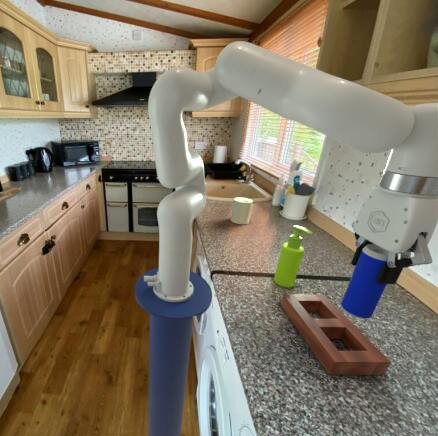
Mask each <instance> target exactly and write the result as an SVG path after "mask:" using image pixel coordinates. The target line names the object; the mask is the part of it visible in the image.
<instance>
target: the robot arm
mask: <svg viewBox="0 0 438 436" xmlns="http://www.w3.org/2000/svg"><path fill="white" fill-rule="evenodd" d="M240 97H241V98H242V99H245V100H247V101H249V102H251V103H253V104H255V105H257V106H259V107H261V108H263V109H265V110H267V111H269V112H272V113H273V114H275V115H277V116H279V117H281V118H283V119H286V120H289V121H292V122H296V123H299V124H301V125H303V126H305V127H308V128H309V129H312V130H313V131H316V132H318V133H320V134H322V135H324V136H326V137H329V138H331V139H332V140H334V141H337V142H339V143H340V144H343V145H345V146H347V147H349V148H351V149H352V150H355V151H357V152H360V153H364V154H381V153H384V152H387V151H390V150H391V151H390V154H389V156H388V158H387V159H388V160H387V161H386V165H385V167H384V170H382V171H381V172H380V173H379V177H380V180H379V183H378V184H375V185H374V186H373V187H372V188H371V190H370V191H369V193H368V194H367V195H366V198H365V199H364V201H363V202H362V205H361V206H360V209H359V211H358V213H357V216H356V218H355V220H354V221H353V222H352V223H351V228H352V230H353V232H354V238H355V243H354V246H355V247H356V249H355V251H354V254H353V257H352V259H351V261H350V264H351V265H352V266H354V267H356V264H357V262H358V259H359V257H360V254H361V252H362V249H363V248H364V247H365V246H366V245H368V244H375V245H377V246H379V247H381V248H383V249H384V250H386V251H388V262H387V264H383V265H382V267H381V270H380V272H379V274H378V276H377V279H376V282H377V283H378V284H387V285H395V284H396V283H397V281H398V280H399V278H400V276H401V273H402V271H403V270H404V268H405V269H407V268H410V267H414V266H420V265H421V266H422V265H431V264H432V263H433V258H432V255H431V252H430V249H429V246H428V245H429V243H430V241H431V239H432V237H433V234H434V233H435V230H436V227H437V224H438V102H428V103H427V102H426V103H419V104H416V105H407V104H405V103H404V102H403V101H400V100H398V99H396V98H394V97H391V96H389V95H386V94H384V93H381V92H379V91H377V90H374V89H371V88H369V87H367V86H364V85H361V84H358V83H357V82H353V81H350V80H348V79H345V78H342V77H339V76H336V75H333V74H330V73H327V72H325V71H323V70H321V69H318V68H315V67H311V66H308V65H306V64H303V63H301V62H298V61H296V60H293V59H290V58H289V57H286V56H284V55H281V54H279V53H277V52H274V51H271V50H269V49H266V48H264V47H261V46H259V45H257V44H254V43H253V42H248V41H243V40H239V41H238V40H237V41H233V42H231V43H229V44H228V45H226V46H225V47H224V48H223V49H222V50H221V51H220V53H218V56H217V58H216V60H215V64H214V67H212V68H209V69H207V70H205V71H202V72H199V71H197V70H195V69H193V68H190V67H186V66H175V67H172V68H169V69H167V70H166V71H164V72H163V73H162V74H161V75H160V76H158V78H157V80H155V82H154V83H153V86H152V88H151V90H150V92H149V97H148V102H147V111H148V121H149V125H150V128H151V129H150V130H151V135H152V144H153V146H152V147H153V154H154V161H155V168H156V176H157V180H158V181H159V183H160V184H161V186H163V187H164V188H166V189H175V190H174V191H173V192H171V193H169V194H168V195H166V196H165V197H163V198H162V199H161V201H160V202H159V203H158V206H157V210H156V218H157V223H158V231H159V232H158V236H159V241H158V243H159V244H158V246H159V248H158V268H159V272H157V275H154V276H144V282H148V286H153V290H154V293H155V294H156V295H157V296H158V297H159V298H161V299H162V300H165V301H168V302H182V301H185V300H187V299H189V298H190V297H191V296H192V294H193V285H192V283H191V282H190V281H189V276H190V271H191V265H192V264H191V263H192V255H193V254H192V253H193V230H192V224H193V221H194V220H195V219H196V218H197V217H198V216H199V215H200V214H202V212H203V211H204V209H205V207H206V204H207V191H206V190H207V189H206V178H205V176H206V175H205V166H204V162H203V159H202V157H201V155H200V153H199V152H198V151H197V150H195V149H193V148H190V147H189V146H188V136H187V135H188V134H187V129H186V125H185V122H184V118H183V113H184V112H201V111H204V110H208V109H211V108H213V107H216V106H218V105H221V104H223V103H226V102H229V101H232V100H234V99H236V98H240ZM412 253H413V256H412ZM399 255H400V257H399Z"/></svg>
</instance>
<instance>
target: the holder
mask: <svg viewBox="0 0 438 436" xmlns="http://www.w3.org/2000/svg"><path fill="white" fill-rule="evenodd" d="M280 307H281V308H282V310H283V311H284V313H285V314H286V315H287V317H288V318H289V320H290V321H291V322H292V324H293V326H294V327H295V328H296V330H297V332H298V333H299V334H300V336H301V337H302V338H303V340H304V341H305V342H306V344H307V345H308V347H309V348H310V350H311V352H313V354H314V355H315V357H316V358H317V359H318V361H319V362H320V364H321V365H322V366H323V368H324V370H325V371H326V372H327V374H328V375H329V376H384V375H385V374H386V371H387V370H388V368H389V367H390V365H391V363H392V361H390V359H389V358H388V357H386V355H385V354H384V353H382V351H381V350H380V349H379V348H378V347H376V346H375V344H374V343H373V342H372V341H371V340H370V339H369V338H368V337H367V336H366V335H365V334H364V333H363V332H362V331H361V330H360V329H359V328H358V327H357V326H356V325H355V324H354V323H353V322H352V321H351V320H350V319H349V318H348V317H347V316H346V314H344V313H343V312H342V311H341V310H340V309H339V308H338V307H337V306H336V305H335V304H334V303H333V302H332V301H331V300H330V299H329V298H328V297H327V295H325V294H312V293H311V294H310V293H308V294H306V293H305V294H303V293H302V294H301V293H299V294H298V293H297V294H296V293H295V294H294V293H293V294H292V293H286V294H285V293H283V295H282V298H281V301H280ZM310 313H317V314H318V315H319V317H321V318H313V317H312V316H311V315H310ZM331 340H340V341H341V342H342V343H343V344H344V345H345V346H346V348H347V349H348V350H339V349H338V348H337V347H336V346H335V344H334V343H333V342H332V341H331Z"/></svg>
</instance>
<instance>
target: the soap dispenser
mask: <svg viewBox="0 0 438 436" xmlns="http://www.w3.org/2000/svg"><path fill="white" fill-rule="evenodd" d="M291 228H292V229H294V231H293V234H290V235H289V236H288V241H287V242H284V243H282V244H281V249H280V253H279V258H278V261H277V264H276V269H275V271H274V272H275V273H274V277H273V281H274V283H275V284H276V285H278V286H279V287H283V288H287V289H288V288H289V289H290V288H293V287H294V286H295V282H296V279H297V276H298V272H299V269H300V265H301V262H302V260H303V255H304V252H305V248H304V247H303V246H302V243H303V237H302V236H301V234H302V233H304V234H305V235H306V236H310V235H313V234H314V232H313V231H312V230H310V229H308V228H307V227H304V226H301V225H297V224H295V225H292V226H291Z"/></svg>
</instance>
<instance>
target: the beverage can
mask: <svg viewBox="0 0 438 436" xmlns="http://www.w3.org/2000/svg"><path fill="white" fill-rule="evenodd" d="M387 262H388V251H386V250H384V249H383V248H381V247H379V246H377V245H375V244H368V245H366V246H365V247H364V248H363V249H362V252H361V254H360V257H359V259H358V262H357V264H356V266H354V269H353V272H352V274H351V276H350V279H349V281H348V284H347V287H346V289H345V292H344V294H343V297H342V300H341V302H340V305H341V308H342V310H343V311H344V312H345V313H346V314H348V315H349V316H351V317H353V318H357V319H360V320H367V319H370V318H372V316H373V315H374V312H375V311H376V308H377V306H378V304H379V302H380V300H381V299H382V298H381V297H382V295H383V293H384V292H385V288H386V287H387V285H388V284H378V283H377V282H376V279H377V276H378V274H379V272H380V270H381V267H382V265H383V264H387Z"/></svg>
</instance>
